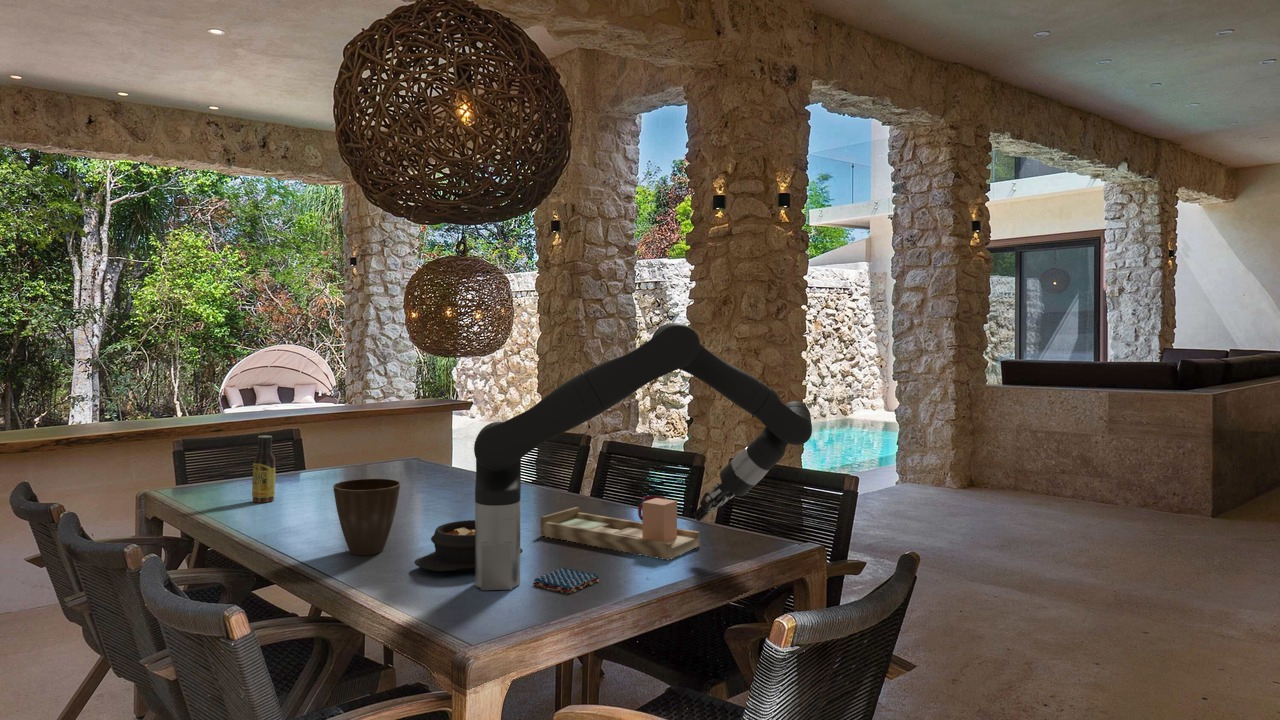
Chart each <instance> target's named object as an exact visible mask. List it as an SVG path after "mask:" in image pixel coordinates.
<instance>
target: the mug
mask: <svg viewBox="0 0 1280 720" xmlns="http://www.w3.org/2000/svg"><path fill="white" fill-rule="evenodd" d="M654 498H660V499H667V500H668V498H667V497H666V496H664V495H663V496H662V495H646V496H643V497H642V501H641V503H639V505H638V509H637V514H638V518H639V519H640V521H641V522H643V502H645V501H648V500H651V499H654Z"/></svg>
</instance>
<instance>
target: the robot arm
mask: <svg viewBox="0 0 1280 720" xmlns="http://www.w3.org/2000/svg"><path fill="white" fill-rule="evenodd" d="M677 370H681V371H683V372H685V373H687V374H689V375H692V376H693V377H695V378H696V379H698V380H700V381H701V382H704V383H705V384H707V385H708V386H709V387H711V388H712V389H713V390H715V391H717V392H718V393H720V394H721V395H722V396H723V397H725V398H726V399H727V400H729V401H731V402H732V403H733V404H735V405H736V406H738V407H739V408H741V409H742V410H744V411H746V412H747V413H748V414H750V415H751V416H754V417H755V418H756V419H758V420H759V421H760V422H761V423H762V424H763V425H764V426H765V427H764V428H763V430H762V431H761V433H760V434H759V435H757V437H755V438H754V440H752V441H751V442H750V444H749V445H747V446H746V447H745V448H744V449H742V450H741V451H740V452H738V454H737V455H736V456H734V458H732V459H731V460H730V462H728V463H727V464H726V465H725V466H724V467H723V468H722V469H721V471H720V472H719V478H720V483H716V484H715V485H714V486H713V487H712V490H710V492H705V493H704V494H703V496H702V498H701V500H700V502H699V505H700V506H699V507H698V508H697V510H695V511H694V512H693V514H692V515H693V517H694V518H695V520H696V521H697V522H699V521H703V520H704V519H705V518H706V517H707V516H708V515H709V514H710V513H711V512H714V511H715V510H716V509H718V508H721V506H723V505H724V504H725V503H727V502H728V501H729V500H731V499H732V498H734V497H735V496H738V497H743V496H745V495H746V494H747V493H748V492H749V491H751V489H753V488H754V487H755V486H756V485H757V484H758V483H759V482H760V481H761V480H762V479H763V478H764V477H765V476H766V475H767V474H768V472H769V471H770V470H771V469H772V468H773V467H774V466H775V465H776V464H777V463H778V462H780V461H781V460H782V458H783V457H784V456H785V454H786V453H785V452H786V449H787V446H788V444H789V445H792V446H801V445H804V444H806V443H807V442H808V441H809V440H810V438H811V437H812V433H813V424H812V416H811V412H810V409H809V407H807V406H808V405H806V404H804V403H803V402H801V401H789V402H787V403H785V404H784V402H783V401H782V400H781V398H780V396H779V394H778V393H777V392H776V390H775V389H773V388H771V387H770V386H768V385H767V384H765V383H764V382H762V381H761V380H759V379H758V378H756V377H755V376H753V375H751V374H749V373H748V372H746V371H744V370H742V369H741V368H739V367H737V366H735V365H733V364H732V363H729V362H728V361H726V360H724V359H722V358H721V357H719V356H717V355H715V354H714V353H713V352H711V351H710V350H709V349H707V348H706V347H704V346H703V345H702V344H701V343H700V337H699V335H698V333H697V331H695V330H694V329H693V328H692V327H690V326H689V325H686V324H683V323H679V322H669V323H665V324H662V325H661V326H659V327H658V328H657V329H656V330H655V331H654V332H653V334H652V336H651V338H650V339H649V340H648V341H646V342H645V343H643V344H642V345H640V346H638V347H637V348H635V349H634V350H632V351H630V352H628V353H627V354H624V355H622V356H618V357H616V358H612V359H610V360H607V361H605V362H602V363H600V364H596V365H594V366H593V367H591V368H588V369H587V370H585V371H583V372H580V373H579V374H577V375H575V376H574V377H572V378H570V379H568V380H567V381H565V382H564V383H562V384H561V385H560V386H558V387H557V388H555V389H554V390H552V391H551V392H550V393H548V394H547V395H546V396H545V397H543V398H542V399H541V400H540V401H538V402H537V403H536V404H535V405H533V406H532V407H530V408H529V409H527V410H526V411H523V412H522V413H519V414H517V415H515V416H513V417H511V418H509V419H507V420H505V421H493V422H491V423H488V424H487V425H485V426H483V428H481V430H480V431H479V432H478V435H477V436H476V438H475V441H474V445H473V452H474V453H473V455H474V458H475V486H474V520H475V571H474V584H475V587H476V588H479V589H480V591H503V590H504V591H507V590H513V588H515V587H517V586H519V585H520V584H521V554H520V548H521V494H522V493H521V492H522V491H521V490H522V489H521V488H522V486H521V485H522V475H521V474H522V473H521V471H522V470H521V469H522V458H524V457H525V456H526V455H527V454H529V453H530V452H532V451H534V450H535V449H536V448H537V447H539V446H540V445H542V444H544V443H545V442H547V441H549V440H550V439H551V440H552V438H554V437H557V436H559V435H562V434H564V433H566V432H569V431H570V430H572V429H575V428H577V427H578V426H580V425H582V424H584V423H585V422H588V421H590V420H592V419H594V418H596V417H597V416H599V415H600V414H602V413H604V412H605V411H608V410H609V409H611V408H612V407H614V406H615V405H617V404H618V403H620V402H621V401H623V400H625V399H627V398H628V397H629V396H630V395H632V394H634V393H636V392H637V391H638V390H640V389H641V388H643V387H644V386H645V385H647V384H649V383H651V382H653V381H656V380H657V379H659V378H661V377H664V376H665V375H668V374H670V373H673V372H675V371H677Z"/></svg>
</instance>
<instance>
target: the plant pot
mask: <svg viewBox="0 0 1280 720" xmlns="http://www.w3.org/2000/svg"><path fill="white" fill-rule="evenodd" d="M400 487H401V482H400V481H398V480H396V479H391V478H389V479H387V478H359V479H358V478H357V479H350V480H344V481H343V480H342V481H340V482H337V483H335V484H334V485H333V486H332V489H333V494H334V495H333V496H334V501H335V502H334V503H335V507H336V512H337V516H338V520H339V525H340V528H341V530H342V531H341V532H342V535H343V537H344V540H345V543H346V545H347V547H348V550H349V553H350V554H352V555H355V556H372V555H377V554H379V553H382V552H383V551H384V549H385V546H386V543H387V541H388V538H389V535H390V532H391V529H392V526H393V524H394V523H393V522H394V518H395V514H396V510H397V505H398V501H399V495H400Z"/></svg>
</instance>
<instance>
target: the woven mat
mask: <svg viewBox="0 0 1280 720" xmlns="http://www.w3.org/2000/svg"><path fill="white" fill-rule="evenodd" d="M533 581H534V582H532V585H536V586H539V587H538V588H542V587H544V588H543V589H545V588H550V589H553V590H552V591H554V590H557V591H556V592H558V591H562V592H561V593H563V592H568V593H576V592H577V591H576V590H579V589H582V590H583V589H584V588H583V587H585V586H586V585H587V586H588V585H589V586H590V585H591V586H592V585H594V584H593V583H595V582H598V583H599V582H600V578H599V575H596V573H592V574H591V573H590V572H586V573H585V572H584V571H578V570H577V569H575V570H572V568H568V569H566V567H563V568H558V569H557V570H556V571H555V570H553V571H552V572H548V573H546V574H543V575H540V576H539V577H535V578H534V580H533ZM594 581H595V582H594ZM536 586H535V587H536ZM577 588H578V589H577ZM550 589H549V590H550Z"/></svg>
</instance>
